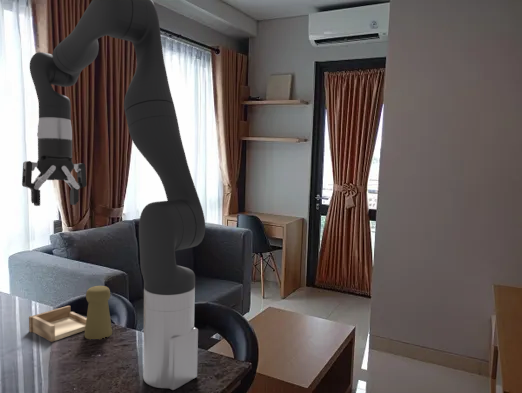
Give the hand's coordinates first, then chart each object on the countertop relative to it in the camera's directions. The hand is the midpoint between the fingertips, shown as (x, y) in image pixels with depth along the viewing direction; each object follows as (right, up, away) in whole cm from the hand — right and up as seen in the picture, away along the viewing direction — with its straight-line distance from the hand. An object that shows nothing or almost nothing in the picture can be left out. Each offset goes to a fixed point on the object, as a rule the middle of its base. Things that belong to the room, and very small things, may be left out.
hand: (55, 205), depth 105 cm
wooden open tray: (+4, -29, -5) cm, 30 cm away
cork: (+13, -30, -6) cm, 33 cm away
